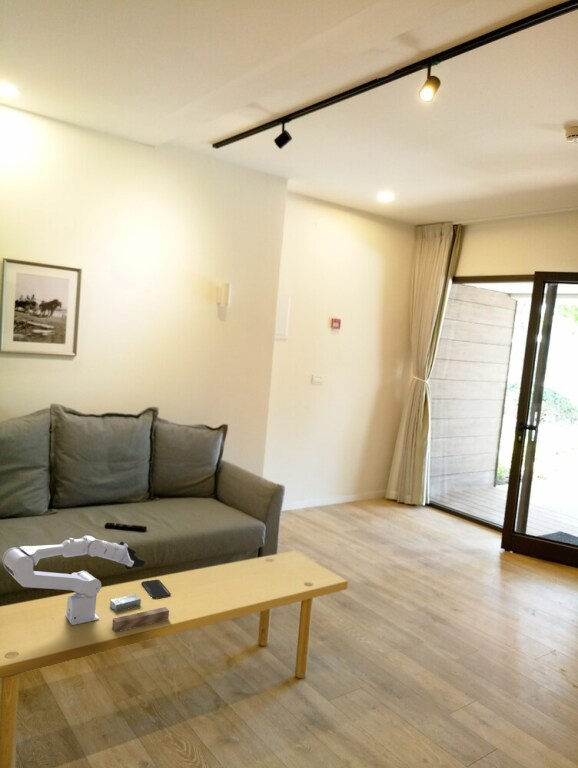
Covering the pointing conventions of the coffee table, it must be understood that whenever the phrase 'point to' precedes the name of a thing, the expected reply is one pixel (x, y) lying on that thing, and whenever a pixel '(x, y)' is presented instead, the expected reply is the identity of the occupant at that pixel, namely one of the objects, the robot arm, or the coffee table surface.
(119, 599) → the plate block
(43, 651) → the coffee table surface
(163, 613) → the walnut bar
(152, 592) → the phone
